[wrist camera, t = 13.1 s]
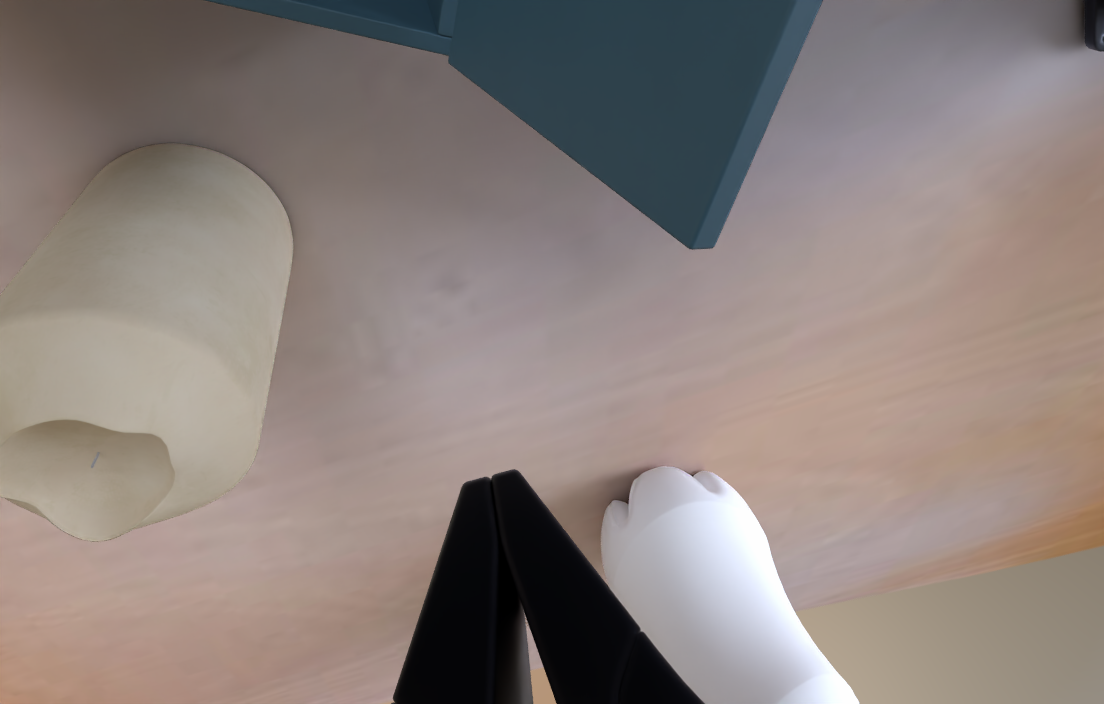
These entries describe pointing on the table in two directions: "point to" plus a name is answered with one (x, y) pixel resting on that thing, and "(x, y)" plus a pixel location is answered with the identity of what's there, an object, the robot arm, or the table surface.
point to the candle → (143, 343)
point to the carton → (370, 18)
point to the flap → (642, 90)
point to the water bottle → (711, 593)
